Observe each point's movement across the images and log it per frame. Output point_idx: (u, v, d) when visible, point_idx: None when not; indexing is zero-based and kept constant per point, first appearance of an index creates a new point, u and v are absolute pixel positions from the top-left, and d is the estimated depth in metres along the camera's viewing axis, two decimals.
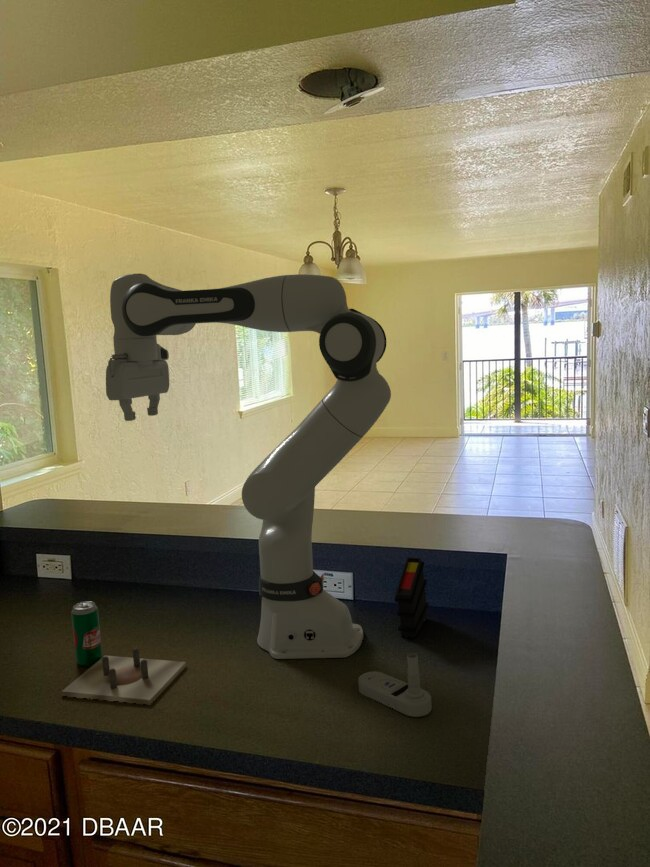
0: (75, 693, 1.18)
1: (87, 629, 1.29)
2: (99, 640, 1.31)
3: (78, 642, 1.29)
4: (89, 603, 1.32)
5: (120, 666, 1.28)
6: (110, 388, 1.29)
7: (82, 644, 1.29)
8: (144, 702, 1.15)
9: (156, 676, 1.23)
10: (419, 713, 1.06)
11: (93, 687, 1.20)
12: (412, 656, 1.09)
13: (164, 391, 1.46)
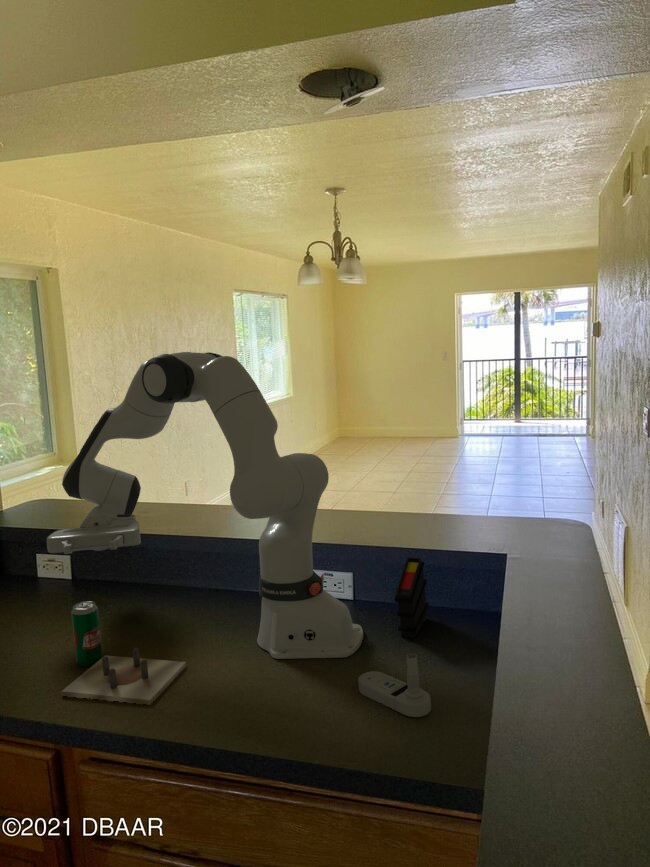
0: (75, 693, 1.18)
1: (87, 629, 1.29)
2: (99, 640, 1.31)
3: (78, 642, 1.29)
4: (89, 603, 1.32)
5: (120, 666, 1.28)
6: None
7: (82, 644, 1.29)
8: (144, 702, 1.15)
9: (156, 676, 1.23)
10: (418, 713, 1.06)
11: (93, 687, 1.20)
12: (411, 656, 1.09)
13: (127, 531, 1.48)
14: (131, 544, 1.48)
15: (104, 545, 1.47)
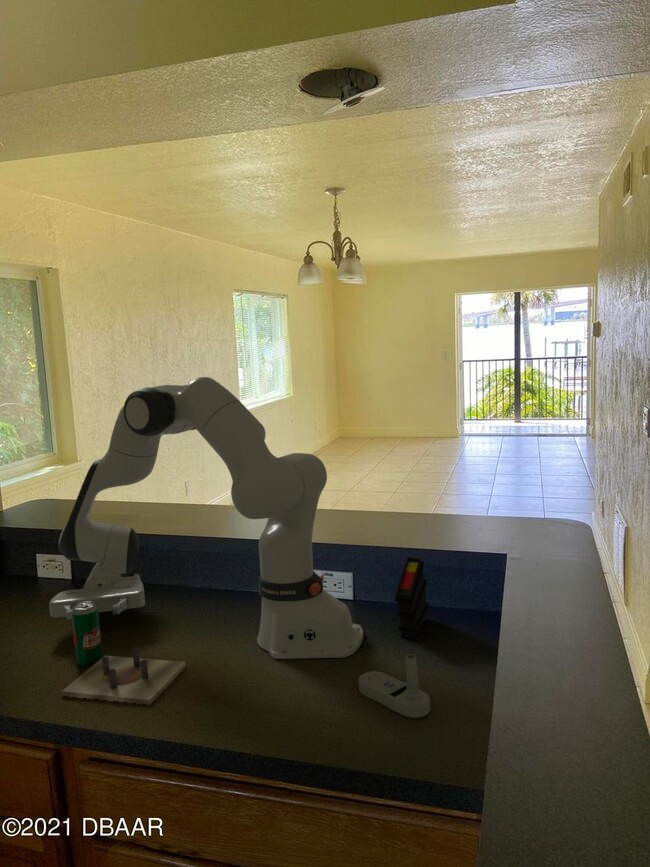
0: (75, 693, 1.18)
1: (87, 629, 1.29)
2: (99, 640, 1.31)
3: (78, 642, 1.29)
4: (89, 603, 1.32)
5: (120, 666, 1.28)
6: None
7: (82, 644, 1.29)
8: (144, 702, 1.15)
9: (156, 676, 1.23)
10: (417, 714, 1.06)
11: (93, 687, 1.20)
12: (411, 657, 1.09)
13: (131, 593, 1.45)
14: (135, 606, 1.45)
15: (108, 608, 1.44)
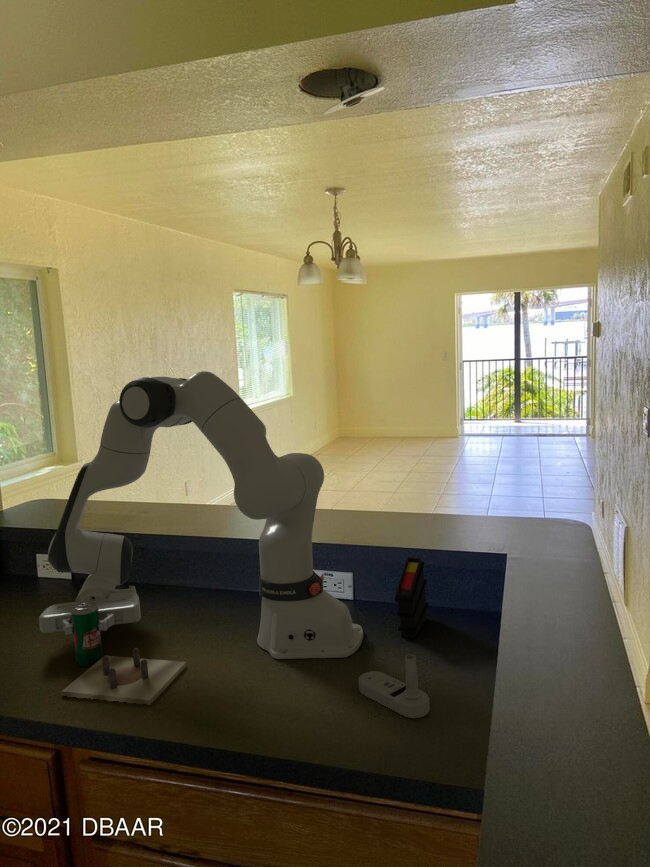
0: (75, 693, 1.18)
1: (87, 629, 1.29)
2: (99, 640, 1.31)
3: (78, 642, 1.29)
4: (89, 603, 1.32)
5: (120, 666, 1.28)
6: None
7: (82, 644, 1.29)
8: (144, 702, 1.15)
9: (156, 676, 1.23)
10: (416, 714, 1.06)
11: (93, 687, 1.20)
12: (410, 657, 1.09)
13: (126, 607, 1.37)
14: (130, 621, 1.37)
15: None
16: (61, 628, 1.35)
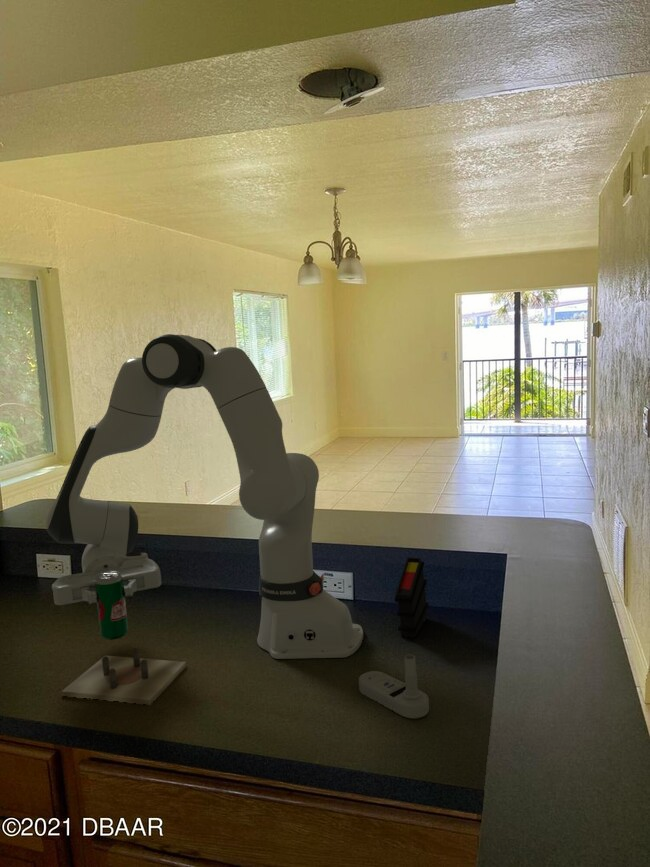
0: (75, 693, 1.18)
1: (115, 599, 1.21)
2: (125, 611, 1.24)
3: (105, 614, 1.21)
4: (113, 572, 1.24)
5: (120, 666, 1.28)
6: None
7: (110, 616, 1.21)
8: (144, 702, 1.15)
9: (156, 676, 1.23)
10: (415, 715, 1.06)
11: (93, 687, 1.20)
12: (410, 657, 1.09)
13: (148, 571, 1.29)
14: (152, 586, 1.30)
15: None
16: (78, 598, 1.25)
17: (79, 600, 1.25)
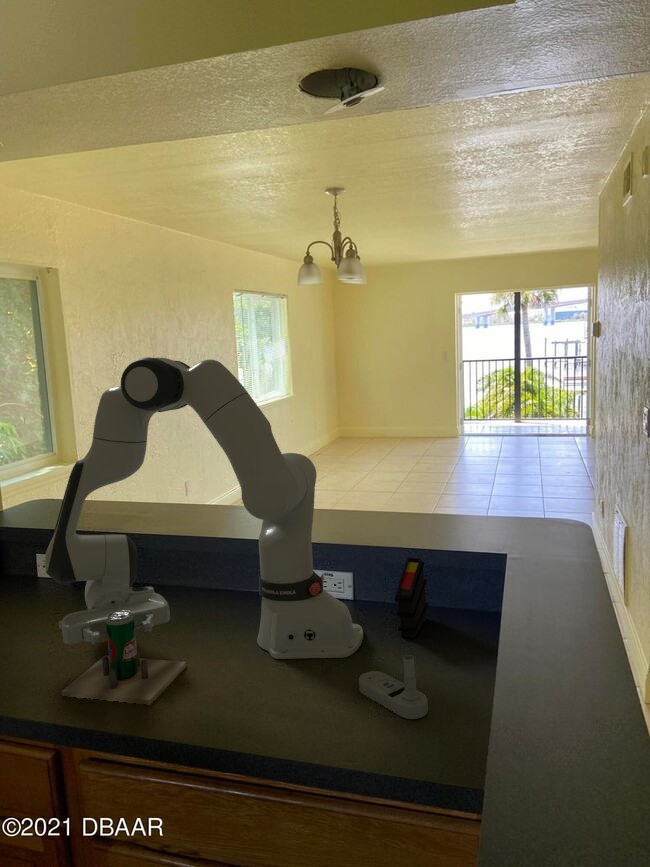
0: (75, 693, 1.18)
1: (127, 639, 1.21)
2: (136, 650, 1.23)
3: (117, 654, 1.20)
4: (123, 612, 1.23)
5: None
6: None
7: (122, 656, 1.21)
8: (144, 702, 1.15)
9: (156, 676, 1.23)
10: (413, 715, 1.06)
11: (93, 687, 1.20)
12: (409, 658, 1.08)
13: (157, 607, 1.29)
14: (161, 622, 1.29)
15: None
16: None
17: None
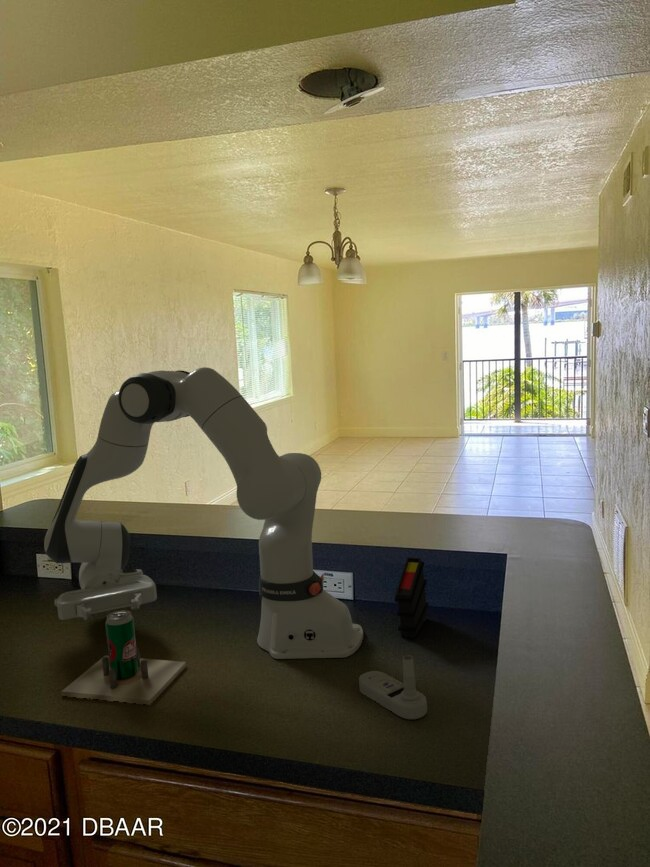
0: (75, 693, 1.18)
1: (127, 639, 1.21)
2: (136, 650, 1.23)
3: (117, 654, 1.20)
4: (123, 612, 1.23)
5: None
6: None
7: (121, 656, 1.21)
8: (144, 702, 1.15)
9: (156, 676, 1.23)
10: (412, 716, 1.06)
11: (93, 687, 1.20)
12: (408, 658, 1.08)
13: (144, 587, 1.41)
14: (148, 601, 1.41)
15: (120, 605, 1.39)
16: None
17: None
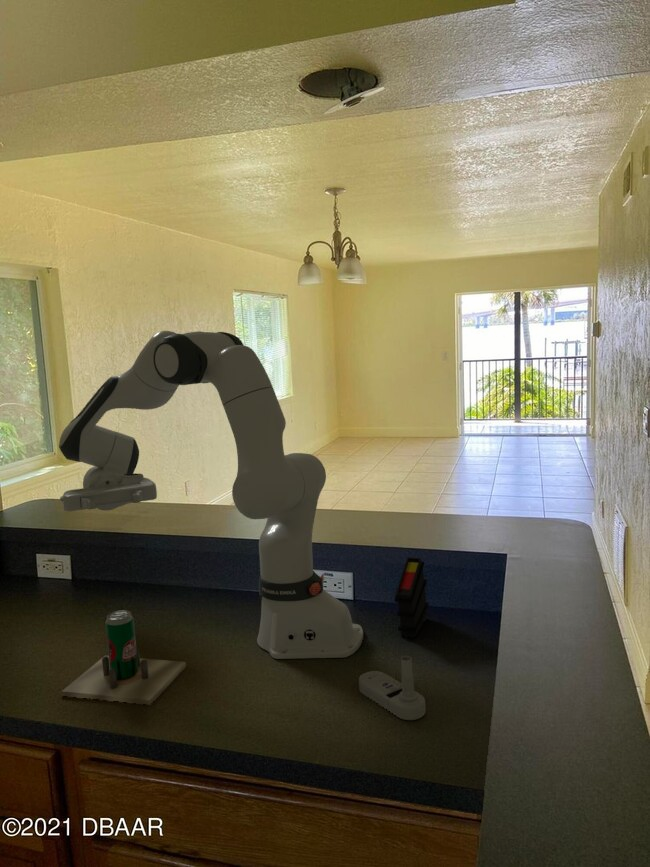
0: (75, 693, 1.18)
1: (127, 639, 1.21)
2: (136, 650, 1.23)
3: (117, 654, 1.20)
4: (123, 612, 1.23)
5: None
6: None
7: (121, 656, 1.21)
8: (144, 702, 1.15)
9: (156, 676, 1.23)
10: (410, 716, 1.06)
11: (93, 687, 1.20)
12: (407, 659, 1.08)
13: (145, 485, 1.49)
14: (149, 499, 1.49)
15: (122, 501, 1.47)
16: None
17: (86, 507, 1.43)
